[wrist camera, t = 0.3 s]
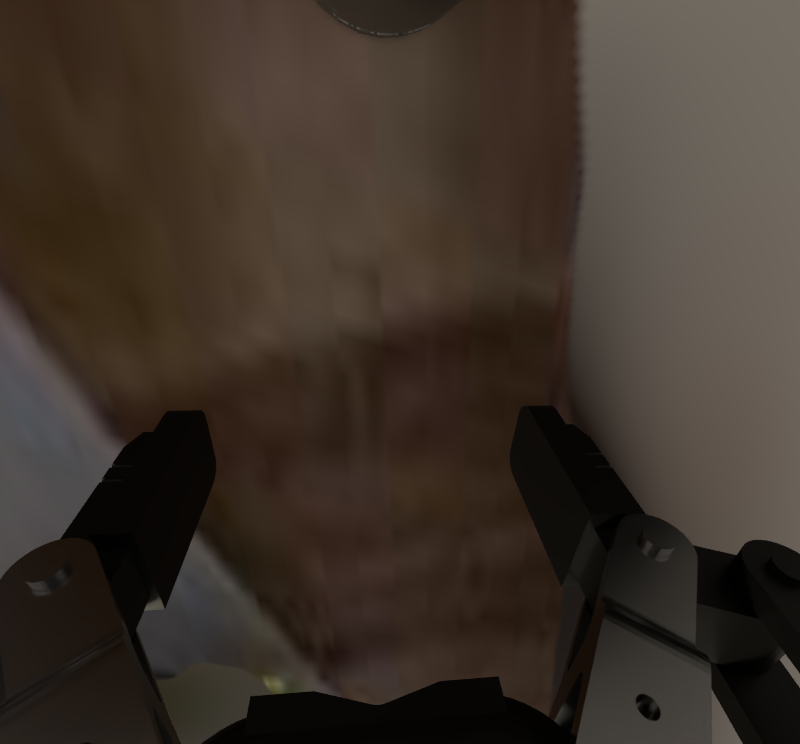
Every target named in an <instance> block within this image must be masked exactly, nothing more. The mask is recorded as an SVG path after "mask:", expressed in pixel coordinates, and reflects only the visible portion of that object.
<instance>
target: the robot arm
mask: <svg viewBox="0 0 800 744" xmlns="http://www.w3.org/2000/svg"><path fill="white" fill-rule="evenodd" d="M316 1H317V2H318V3H319V5H320V6H321V7H322V8H323V9H324V10H325V11H327V12H328V13H329V14H330V15H331V16H333V17H334V18H335V19H336V20H337V21H339V22H340V23H341V24H343V25H345V26H347V27H349V28H351V29H353V30H355V31H357V32H359V33H362V34H366V35H370V36H375V37H379V38H388V37H402V36H405V35H409V34H412V33H415V32H418V31H421V30H422V29H424V28H426V27H428V26H430V25H431V24H432V23H434V22H435V21H437V20H439V19H440V18H441V17H442V16H443V15H445V14H446V13H447V12H448V11H449V10H451V9H452V8H454V7H455V6H456V5H457V4H458V3H460V2H461V1H462V0H316ZM510 466H511V471H512V474H513V476H514V479H515V481H516V483H517V486H518V488H519V490H520V492H521V495H522V497H523V499H524V502H525V504H526V506H527V509H528V511H529V513H530V515H531V518H532V520H533V522H534V525H535V527H536V529H537V532H538V534H539V536H540V539H541V541H542V543H543V545H544V548H545V550H546V552H547V555H548V557H549V559H550V562H551V564H552V566H553V568H554V571H555V573H556V575H557V578H558V580H559V582H560V585H561V587H574V586H580V587H581V589H582V591H583V593H584V595H585V598H584V600H583V603H582V606H581V609H580V613H579V617H578V620H577V624H576V628H575V632H574V635H573V639H572V643H571V647H570V650H569V654H568V658H567V662H566V665H565V669H564V673H563V677H562V680H561V683H560V686H559V689H558V692H557V695H556V697H555V700H554V703H553V706H552V709H551V712H550V715H549V717H548V716H546V715H545V714H543V713H542V712H540V711H539V710H537V709H535V708H533V707H531V706H529V705H527V704H525V703H523V702H520V701H517V700H515V699H512V698H509V697H504V696H503V693H502V689H501V685H500V681H499V677H486V678H474V679H461V680H449V681H439V682H437V683H434V684H432V685H430V686H427V687H425V688H422V689H420V690H417V691H415V692H412V693H410V694H407V695H405V696H403V697H400V698H398V699H395V700H393V701H390V702H388V703H385V704H382V705H371V704H367V703H363V702H358V701H354V700H350V699H345V698H341V697H337V696H332V695H328V694H324V693H319V692H315V691H312V692H299V693H287V694H274V695H263V696H251V697H250V702H249V707H248V713H247V718H245V719H242V720H239V721H237V722H235V723H233V724H231V725H229V726H227V727H226V728H224V729H222V730H220V731H219V732H217V733H216V734H214V735H213V736H211V737H210V738H208V739H207V740H206V741H204V742H203V743H202V744H712V713H711V712H712V706H711V705H712V700H711V698H712V696H711V688H712V690H713V692H714V694H715V695H716V697H717V699H718V701H719V702H720V704H721V706H722V708H723V709H724V711H725V713H726V715H727V716H728V718H729V720H730V722H731V723H732V725H733V727H734V729H735V731H736V732H737V734H738V736H739V738H740V740H741V741H742V743H743V744H800V688H799V686H798V685H797V683H796V682H795V681H794V679H793V678H792V676H791V675H790V674H789V672H788V671H787V670H786V668H785V667H784V665H783V664H782V663H781V661H780V659H781V658H782V656H784V654H786V655H787V657H788V658H789V659H790V661H791V662H792V663H793V665H794V666H795V667H796V669H797V670H798V671H799V673H800V554H799V553H797V552H795V551H794V550H792V549H790V548H788V547H785V546H783V545H780V544H777V543H774V542H770V541H766V540H752V541H749V542H747V543H746V544H744V546H743V547H742V548H741V550H740V551H739V553H738V554H737V555H733V554H728V553H724V552H720V551H715V550H711V549H706V548H702V547H697V546H694V545H692V543H691V542H690V541H689V539H688V538H687V537H686V536H685V535H684V534H683V533H682V532H681V531H679V530H678V529H677V528H676V527H674V526H673V525H671V524H670V523H668V522H666V521H664V520H662V519H660V518H657V517H654V516H651V515H647V514H645V512H644V511H643V510H642V508H641V507H640V505H639V504H638V503H637V501H636V500H635V499H634V497H633V496H632V494H631V493H630V492H629V490H628V489H627V488H626V486H625V485H624V483H623V482H622V481H621V479H620V478H619V477H618V475H617V474H616V472H615V471H614V469H613V468H610V464H609V463H608V461H607V460H606V458H605V457H604V456H603V455H601V451H600V450H599V449H598V447H597V446H596V445H595V443H594V442H593V440H592V439H591V438H590V437H589V436H587V434H585V433H584V432H583V431H581V430H580V429H579V428H577V427H576V426H575V425H573V424H566V423H565V422H564V420H563V419H562V417H561V416H560V414H559V413H558V411H557V410H556V409H555V407H553V406H523V407H522V408H521V409H520V412H519V416H518V420H517V424H516V429H515V433H514V437H513V442H512V446H511V450H510ZM215 473H216V459H215V454H214V450H213V445H212V441H211V437H210V433H209V429H208V424H207V420H206V417H205V414H204V412H203V411H201V410H190V411H167V412H166V413H165V414H164V416H163V417H162V419H161V421H160V422H159V424H158V425H157V427H156V428H155V430H154V432H143V433H142V434H141V435H139V436H138V437H137V438H135V439H134V440H133V441H131V442H130V443H129V444H127V445H126V446H125V447H124V448H123V449H122V451H121V452H120V454H119V455H118V457H117V458H116V459H115V461H114V462H113V464H112V468H109V469H108V471H107V472H106V474H105V475H104V477H103V478H102V482H99V484H98V485H97V487H96V488H95V490H94V491H93V493H92V494H91V495H90V497H89V498H88V500H87V501H86V503H85V504H84V506H83V507H82V508H81V510H80V511H79V513H78V514H77V516H76V517H75V519H74V520H73V521H72V523H71V524H70V526H69V527H68V529H67V530H66V532H65V533H64V534H63V536H62V537H61V539H60V540H56V541H53V542H50V543H47V544H45V545H42V546H40V547H38V548H36V549H34V550H33V551H31V552H29V553H28V554H26V555H25V556H23V557H22V558H21V559H19V560H18V561H17V562H16V563H14V564H13V565H12V566H11V567H10V568H9V569H8V570H7V571H6V573H5V574H4V575H3V577H2V578H1V579H0V744H181V742H180V739H179V737H178V735H177V732H176V730H175V728H174V726H173V723H172V721H171V719H170V716H169V714H168V711H167V709H166V706H165V703H164V701H163V698H162V695H161V693H160V690H159V687H158V685H157V682H156V679H155V677H154V674H153V671H152V669H151V666H150V663H149V661H148V658H147V655H146V653H145V650H144V647H143V645H142V642H141V639H140V636H139V634H138V632H137V630H136V628H137V626H138V623H139V621H140V619H141V616H142V614H143V612H144V610H159V609H165V608H166V605H167V603H168V600H169V597H170V595H171V592H172V590H173V587H174V584H175V582H176V579H177V577H178V574H179V571H180V569H181V566H182V564H183V561H184V558H185V556H186V553H187V551H188V548H189V545H190V543H191V540H192V538H193V535H194V532H195V530H196V527H197V525H198V522H199V519H200V517H201V514H202V512H203V509H204V506H205V504H206V501H207V499H208V496H209V493H210V491H211V488H212V486H213V483H214V479H215Z"/></svg>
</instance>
